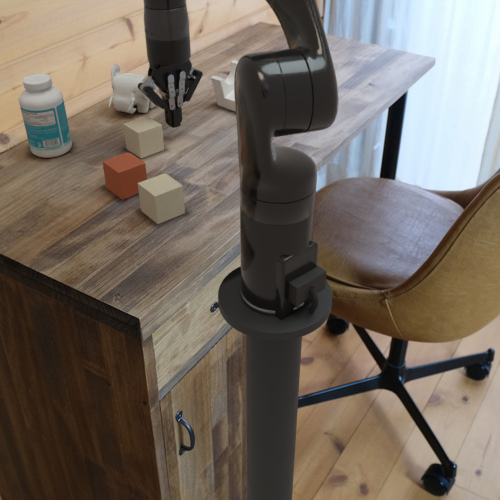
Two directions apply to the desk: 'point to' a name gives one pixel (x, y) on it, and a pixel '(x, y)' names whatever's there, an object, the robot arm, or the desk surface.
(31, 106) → the pill bottle
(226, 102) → the bracket
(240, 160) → the robot arm
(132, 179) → the block
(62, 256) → the desk surface
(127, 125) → the far block
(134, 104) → the elephant figurine
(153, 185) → the near block
